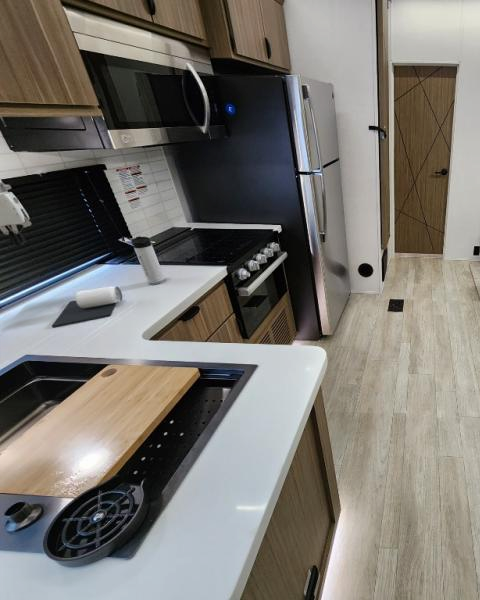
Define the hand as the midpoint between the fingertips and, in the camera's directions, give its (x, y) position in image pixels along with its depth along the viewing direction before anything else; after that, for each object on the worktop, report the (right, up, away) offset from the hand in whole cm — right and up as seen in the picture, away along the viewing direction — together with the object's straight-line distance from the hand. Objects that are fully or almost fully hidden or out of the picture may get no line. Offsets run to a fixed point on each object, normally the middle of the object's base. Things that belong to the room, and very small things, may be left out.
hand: (20, 244), depth 115 cm
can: (+13, -20, +8) cm, 25 cm away
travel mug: (+25, -12, +31) cm, 42 cm away
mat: (+15, -23, +10) cm, 29 cm away
